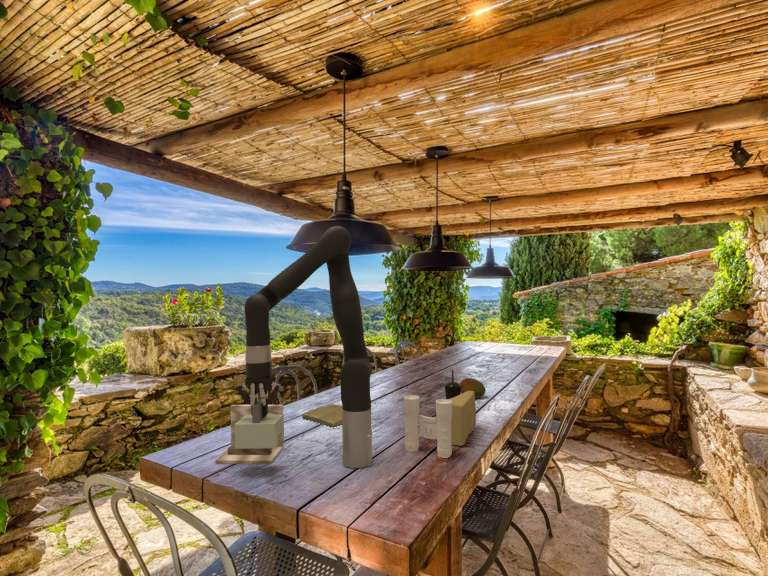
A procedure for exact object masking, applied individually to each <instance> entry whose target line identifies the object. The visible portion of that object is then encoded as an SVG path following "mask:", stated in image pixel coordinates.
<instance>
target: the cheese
mask: <svg viewBox="0 0 768 576" xmlns="http://www.w3.org/2000/svg"><path fill="white" fill-rule="evenodd" d="M448 400H451V401H452V418H451V443H452V444H456V445H464V446H465V444H466V442H467V440H466V439H468V438H469V436H470V435H471V434H472V433H473V432H474V431H473V429H474V428H475V429H476V427H475V426H476V425H477V423H476V421H477V416H476V415H477V414H476V412H477V411H476V410H477V409H476V398H475V392H474V391H466V392H464V393H461V394H460V395H458V396H456V397H453V398H451V399H448ZM475 429H474V430H475ZM472 431H473V432H472ZM471 432H472V433H471ZM470 433H471V434H470ZM469 434H470V435H469ZM468 435H469V436H468ZM467 437H468V438H467ZM465 441H466V442H465Z"/></svg>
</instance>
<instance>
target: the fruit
mask: <svg viewBox="0 0 768 576" xmlns="http://www.w3.org/2000/svg"><path fill="white" fill-rule="evenodd" d="M460 384H462V386H461V394H462V393H464V392H466V391H474V392H475V399H478V398H477V397H479V398H481V397H483V396H484V395H485V393H487V392H486V390H487V389H486V386H485V385H484V383H482V382H481V381H480V380H477V379H474V378H472V377H467V378H464V379H462V380H461V381H460Z"/></svg>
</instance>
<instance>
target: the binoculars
mask: <svg viewBox="0 0 768 576" xmlns="http://www.w3.org/2000/svg"><path fill="white" fill-rule="evenodd" d="M403 412H404V418H405V419H404V420H405V421H404V422H405V423H404V425H405V426H404V428H405V429H404V436H405V437H404V447H405V449H406V450H407V451H417V450H418V449H419V446H420V440H419V438H422V437H423V438H424V439H428V440H436V441H437V445H436V453H437V457H438V456H439V457H442V458H448V457H450V456H451V455H452V452H453V445H452V443H451V418H452V401H451V400H448V399H446V398H441V399H436V400H435V414H436V417H431V416H430V417H429V416H426V415H423V414H419V413H420V396H419V395H415V394H408V395H404V396H403ZM405 449H404V450H405ZM406 450H405V451H406ZM419 450H420V449H419ZM419 450H418V451H419ZM407 451H406V452H407ZM418 451H417V452H418ZM452 456H453V455H452ZM439 457H438V458H439Z"/></svg>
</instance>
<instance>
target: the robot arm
mask: <svg viewBox="0 0 768 576" xmlns="http://www.w3.org/2000/svg"><path fill="white" fill-rule="evenodd" d="M351 245H352V236H351V234H350V232H349V230H347V229H346V228H345V227H343V226H341V225H335V226H334V225H333V226H330V227H329V228H327V229H326V230H325V231H324V232H323V234H322V235H321V237H319V238H318V240H317V241H316V242H315V243H314V244H313V245H312V246H311V247H310V248H309V249H308V250H307V251H306V252H305V253H304V254H302V255H301V256H300V257H299V258H297V259H296V260H295V261H293V262H292V263H291V264H289V265H288V266H286V268H284V269H283V270H281V271H280V272H279V273H278V274H277V275H276V276H275V277H273V278H272V279H271V280H270V281H269V282H268V283H267V285H265V286H264V287H263V288H261V289H260V290H258V291H257V292H255V294H253V295H250V296H249V297H248V298H247V299H246V300H245V302H244V319H245V327H246V330H245V331H246V332H245V341H246V342H245V343H246V344H245V380H244V383H240V385H237V386H236V390H237V392H238V394H239V395H240V397H241V399H242V401H243V402H244V403H245V404H244V405H251V415H252V406H253V405H254V404H255V403H257V402H258V397H259V395H260V400H262V418H265V417H266V415H267V414H268V405H270V404H272V403H273V402H274V401H275V399H276V397H277V395H278V393H279V391H280V390H281V388H282V384H281V383H277V382H275V381H274V378H273V370H272V368H273V367H272V366H273V365H272V360H273V359H272V347H271V331H270V326H269V325H270V314H269V313H270V311H271V310H272V309H274V307H276V306H277V305H278V304H279V303H280V302H281V301H282V300H284V299H285V298H287V297H288V296H290V295H291V294H292V293H293V292H294V291H296V290H297V289H298V288H299V287H300V286H302V285H303V284H304V283H305V282H306V281H307V280H308V279H309V278H310V277H311V276H312V275H313V274H314V273H315V272H316V271H317V270H318V269H320V268H321V267H322V266H324V265H325V264H326V267H327V272H328V283H329V296H330V303H331V311H332V316H333V321H334V324H335V327H336V329H337V332H338V333H339V337H340V339H341V343H342V348H343V349H342V350H343V358H344V364H343V365H342V367H341V368H340V376H339V379H340V380H339V381H340V387H339V388H340V400H341V406H342V426H341V428H342V429H341V431H342V432H341V433H342V434H341V436H342V441H341V442H342V443H341V445H342V447H341V448H342V455H341V456H342V465H343V466H345V467H346V468H350V469H363V468H366V467H371V466H372V461H373V429H372V399H371V375H372V372H373V371H372V364H371V360H370V358H369V354H368V349H367V346H366V342H365V335H364V333H365V332H364V321H363V312H362V305H361V300H360V295H359V292H358V288H357V285H356V282H355V280H354V277H353V275H352V272H351V271H352V270H351V264H350V257H349V256H350V253H349V249H350V247H351ZM247 389H248V391H249V392H250V394H249V392H248V391H247ZM270 389H271V390H272V392H271V394H270V396H269V390H270Z"/></svg>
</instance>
